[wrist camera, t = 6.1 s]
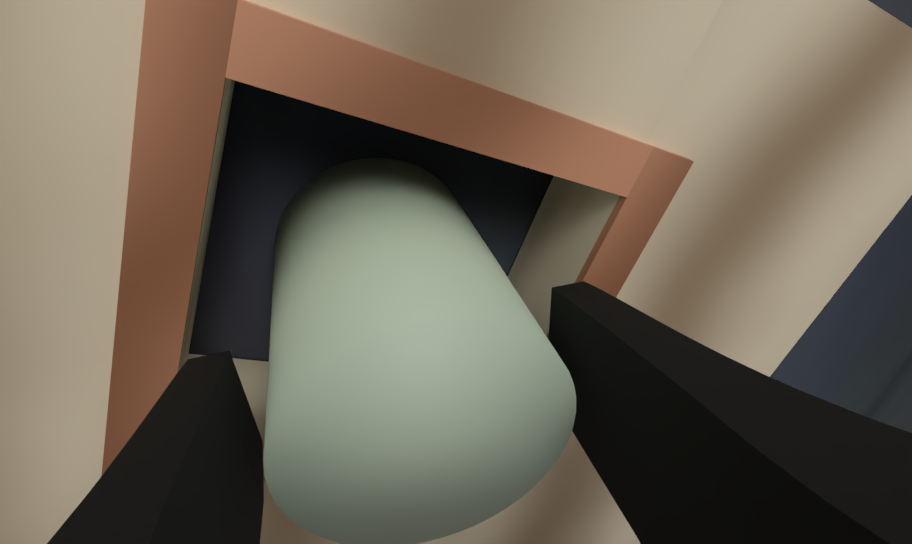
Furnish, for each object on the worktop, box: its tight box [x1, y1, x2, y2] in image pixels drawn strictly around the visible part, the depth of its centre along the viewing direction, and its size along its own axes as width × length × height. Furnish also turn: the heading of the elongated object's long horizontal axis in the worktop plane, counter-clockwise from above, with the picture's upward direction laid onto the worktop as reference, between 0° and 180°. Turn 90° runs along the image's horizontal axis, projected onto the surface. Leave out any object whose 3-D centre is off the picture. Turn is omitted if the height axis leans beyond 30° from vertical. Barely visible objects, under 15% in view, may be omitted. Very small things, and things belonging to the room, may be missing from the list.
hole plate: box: [0, 0, 912, 544], centre depth 11 cm, size 22×16×3 cm
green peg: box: [263, 158, 576, 544], centre depth 10 cm, size 4×4×6 cm
